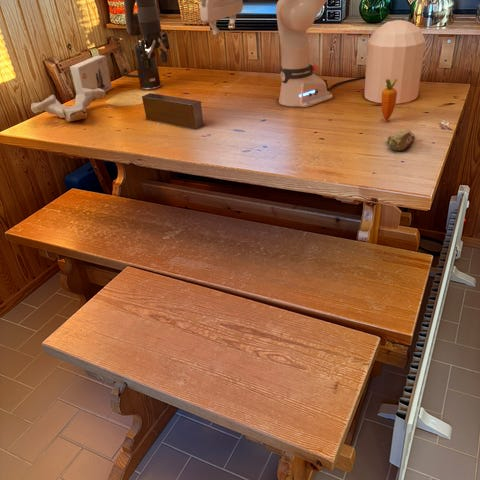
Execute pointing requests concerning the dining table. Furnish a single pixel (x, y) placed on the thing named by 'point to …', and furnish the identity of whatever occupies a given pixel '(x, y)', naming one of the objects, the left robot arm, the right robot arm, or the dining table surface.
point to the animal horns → (72, 111)
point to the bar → (173, 110)
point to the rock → (400, 140)
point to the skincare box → (91, 74)
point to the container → (394, 61)
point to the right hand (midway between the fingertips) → (224, 31)
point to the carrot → (388, 99)
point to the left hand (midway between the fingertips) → (157, 65)
